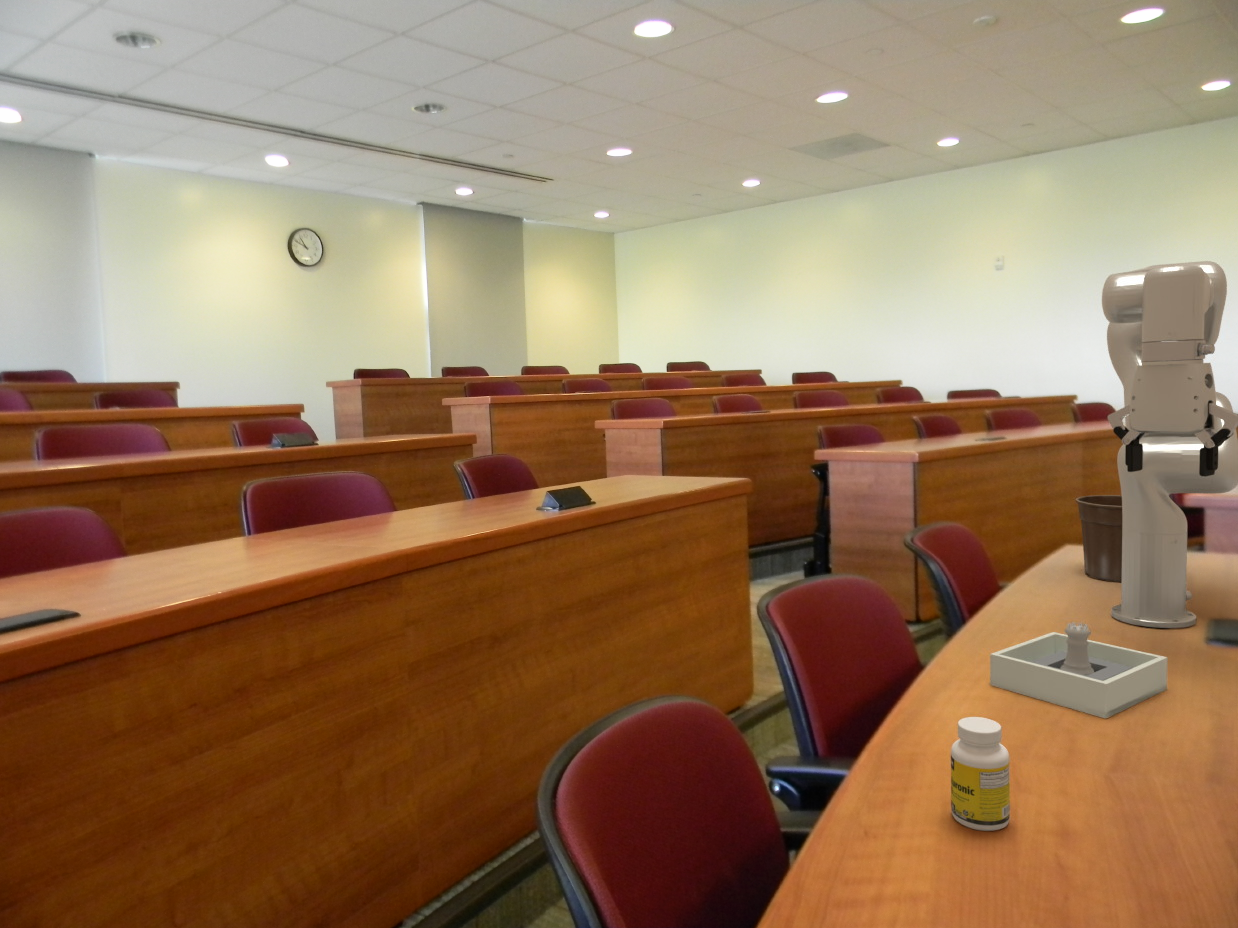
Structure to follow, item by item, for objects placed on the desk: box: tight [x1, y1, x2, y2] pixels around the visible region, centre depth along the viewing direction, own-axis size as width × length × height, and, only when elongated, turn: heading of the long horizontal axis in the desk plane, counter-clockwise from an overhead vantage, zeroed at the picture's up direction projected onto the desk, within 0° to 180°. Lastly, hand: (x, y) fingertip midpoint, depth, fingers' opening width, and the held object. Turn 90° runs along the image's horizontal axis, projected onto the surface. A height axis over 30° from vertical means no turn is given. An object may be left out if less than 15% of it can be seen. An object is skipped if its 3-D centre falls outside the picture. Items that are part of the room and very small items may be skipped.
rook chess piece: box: [1060, 621, 1094, 676], centre depth 121 cm, size 4×4×8 cm
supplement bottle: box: [950, 716, 1011, 832], centre depth 87 cm, size 5×5×10 cm
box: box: [989, 631, 1168, 719], centre depth 121 cm, size 16×16×4 cm
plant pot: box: [1075, 494, 1122, 583], centre depth 181 cm, size 16×16×16 cm
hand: (1169, 473), depth 126 cm, fingers open, 9 cm apart
